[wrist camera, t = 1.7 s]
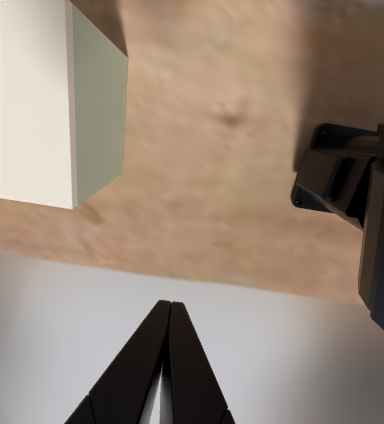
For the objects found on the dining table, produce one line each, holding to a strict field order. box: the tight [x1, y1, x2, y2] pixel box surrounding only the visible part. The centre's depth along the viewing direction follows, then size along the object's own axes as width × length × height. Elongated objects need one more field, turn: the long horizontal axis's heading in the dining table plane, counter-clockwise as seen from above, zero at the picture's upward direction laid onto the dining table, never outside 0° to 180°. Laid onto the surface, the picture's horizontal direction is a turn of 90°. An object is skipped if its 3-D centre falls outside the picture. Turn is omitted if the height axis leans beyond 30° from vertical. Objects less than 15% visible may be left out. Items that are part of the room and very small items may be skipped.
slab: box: [0, 0, 128, 209], centre depth 13 cm, size 4×8×8 cm, turn 171°
